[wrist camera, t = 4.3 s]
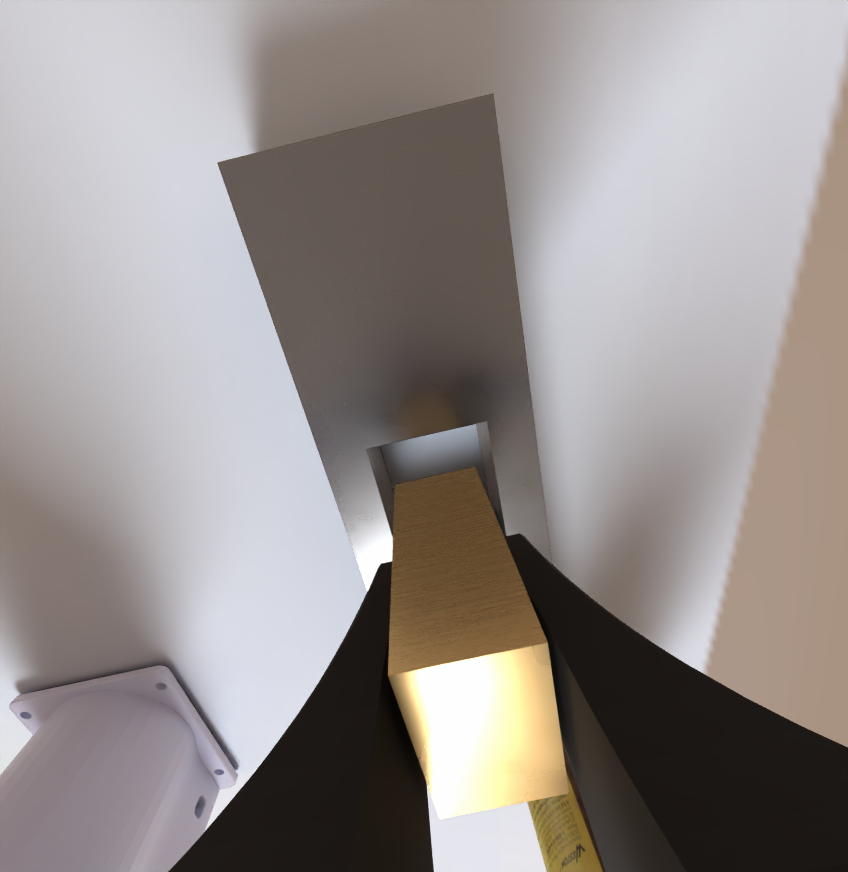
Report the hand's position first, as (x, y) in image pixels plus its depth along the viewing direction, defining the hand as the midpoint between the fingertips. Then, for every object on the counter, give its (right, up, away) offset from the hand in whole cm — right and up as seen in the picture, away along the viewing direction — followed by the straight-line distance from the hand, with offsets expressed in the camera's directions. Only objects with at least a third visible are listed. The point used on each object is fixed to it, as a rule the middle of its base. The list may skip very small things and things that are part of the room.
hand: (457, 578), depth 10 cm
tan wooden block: (0, +1, +2) cm, 2 cm away
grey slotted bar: (0, +2, +6) cm, 7 cm away
